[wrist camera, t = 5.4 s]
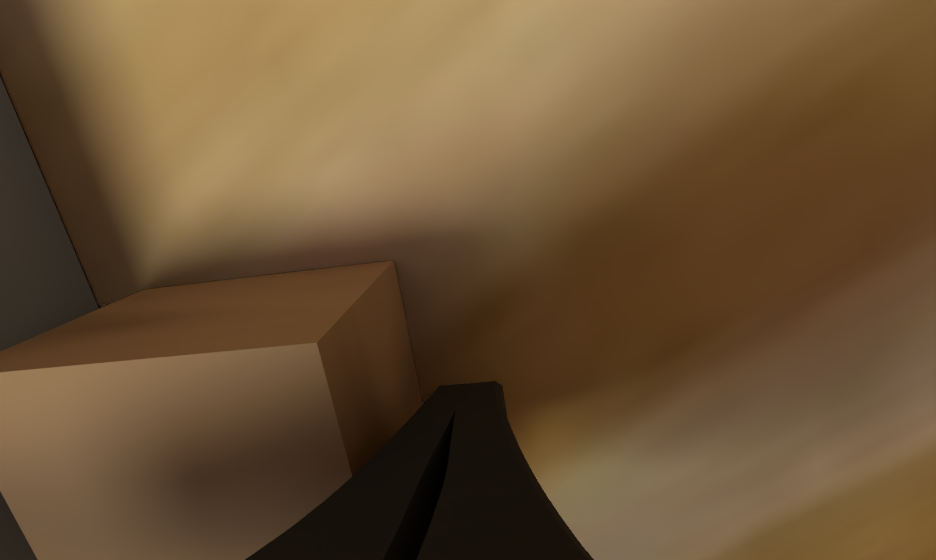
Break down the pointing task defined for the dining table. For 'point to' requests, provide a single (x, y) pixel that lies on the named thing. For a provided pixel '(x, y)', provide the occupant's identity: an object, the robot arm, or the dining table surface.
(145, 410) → the walnut block
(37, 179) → the backboard
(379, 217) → the dining table surface
